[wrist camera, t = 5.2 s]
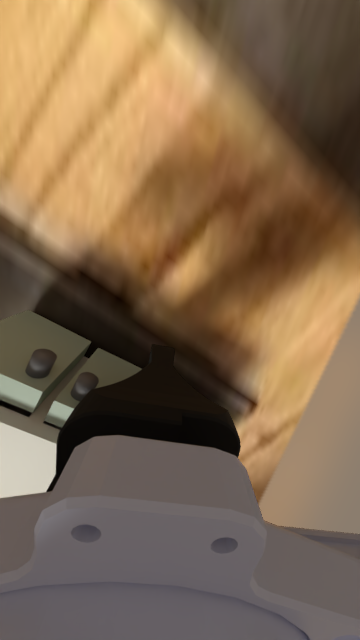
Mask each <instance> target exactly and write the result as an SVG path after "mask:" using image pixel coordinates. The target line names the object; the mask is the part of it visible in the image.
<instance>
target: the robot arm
mask: <svg viewBox="0 0 360 640" xmlns="http://www.w3.org/2000/svg"><path fill="white" fill-rule="evenodd" d="M174 354H175V350H174V348H171V347H165V346H160V345H154V344H152V347H151V352H150V358H149V363H148V365H147V366H146V367H144V368H143V369H142V370H140V371H139V372H137V373H136V374H134V375H132V376H130V377H129V378H127V379H124V380H122V381H119V382H117V383H114V384H111V385H107V386H103V387H99V388H96V389H91V390H90V391H89V392H88V393H87V394H86V396H85V397H84V398H83V399H82V400H81V401H80V402H79V404H78V405H77V406H76V407H75V408H74V410H73V411H72V413H71V414H70V416H69V417H68V419H67V421H66V422H65V424H64V425H63V427H62V428H61V430H60V432H59V434H58V438H57V446H56V474H55V476H54V478H53V480H52V482H51V484H50V485H49V487H48V489H47V491H46V492H43V493H35V494H27V495H20V496H12V497H4V498H0V640H360V534H354V533H344V532H334V531H324V530H314V529H304V528H294V527H284V526H277V525H274V524H272V523H269V522H267V521H264V520H263V517H262V514H261V511H260V508H259V506H258V503H257V500H256V497H255V494H254V491H253V488H252V485H251V482H250V479H249V476H248V473H247V470H246V468H245V467H244V466H243V464H242V463H241V462H240V461H239V459H238V456H239V452H240V439H239V436H238V433H237V430H236V428H235V425H234V423H233V420H232V418H231V416H230V414H229V412H228V410H226V409H225V408H223V407H221V406H219V405H217V404H216V403H214V402H212V401H210V400H209V399H207V398H206V397H204V396H203V395H201V394H200V393H199V392H197V391H196V390H195V389H194V388H193V387H191V386H190V385H189V384H188V383H187V382H186V381H185V380H184V379H183V378H182V377H181V376H180V375H179V373H178V372H177V371H176V370H175V368H174V367H173V361H174Z"/></svg>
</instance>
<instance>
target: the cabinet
mask: <svg viewBox="0 0 360 640" xmlns="http://www.w3.org/2000/svg"><path fill="white" fill-rule="evenodd" d="M90 344H91V341H89V340H87V339H85V338H83V337H81V336H79V335H77V334H75V333H73V332H71V331H69V330H67V329H65V328H63V327H61V326H59V325H57V324H55V323H53V322H52V321H50V320H48V319H46V318H44V317H42V316H40V315H38V314H36V313H34V312H32V311H30V310H27V311H25V312H22V313H19V314H16V315H14V316H11V317H8V318H5V319H3V320H0V498H4V497H12V496H20V495H27V494H35V493H43V492H46V491H47V489H48V487H49V485H50V484H51V482H52V480H53V478H54V476H55V474H56V446H57V438H58V434H59V432H60V430H61V427H59V426H56V425H54V424H51V423H49V422H46V421H44V420H45V418H46V416H47V414H48V412H49V410H50V408H51V406H52V404H53V402H54V400H55V399H56V398H57V396H58V395H59V394H60V393H61V392H62V390H63V389H64V388H65V387H66V386H67V384H68V383H69V382H70V381H71V380H72V378H73V377H74V376H75V375H76V374H77V372H78V371H79V370H80V369H81V368H82V366H83V365H84V364H85V363H86V362H87V360H88V359H89V358H87V357H85V356H84V355H85V353H86V351H87V349H88V347H89V346H90Z"/></svg>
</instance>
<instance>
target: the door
mask: <svg viewBox="0 0 360 640" xmlns="http://www.w3.org/2000/svg"><path fill="white" fill-rule="evenodd" d="M140 370H142V369H141V368H139V367H137V366H135V365H133V364H131V363H129V362H127V361H125V360H123V359H121V358H119V357H117V356H114V355H112V354H110V353H108V352H106V351H104V350H102V349H100V348H97V350H96V351H95V352H94V353H93V354H92V356H91V357H90V358H89V359H88V360H87V362H86V363H85V364H84V365H83V366H82V368H81V369H80V370H79V371H78V372H77V374H76V375H75V376H74V377H73V378H72V380H71V381H70V382H69V383H68V384H67V386H66V387H65V388H64V389H63V390H62V392H61V393H60V394H59V395H58V396H57V398H56V399H55V400H54V402H53V404H52V406H51V408H50V410H49V412H48V414H47V416H46V418H45V420H44V421H46V422H49V423H51V424H54V425H56V426H59V427H61V428H62V427H63V425H64V424H65V422H66V421H67V419H68V417H69V416H70V414H71V413H72V411H73V410H74V408H75V407H76V406H77V405H78V404H79V402H80V401H81V400H82V399H83V398H84V397H85V396H86V394H87V393H88V392H89V391H90V390H91V389H96V388H99V387H103V386H107V385H111V384H114V383H117V382H119V381H122V380H124V379H127V378H129V377H130V376H132V375H134V374H136V373H137V372H139V371H140Z"/></svg>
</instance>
